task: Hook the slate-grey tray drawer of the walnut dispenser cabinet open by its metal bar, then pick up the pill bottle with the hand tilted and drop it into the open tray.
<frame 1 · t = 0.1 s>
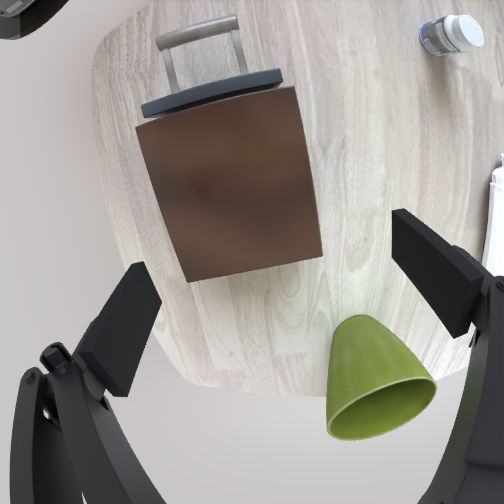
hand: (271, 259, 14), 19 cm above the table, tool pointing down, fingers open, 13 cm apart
drawer: (222, 124, 24), point 5 cm above the table, slide at 0.5 cm
squeeze bottle: (496, 211, 32), on the table
cabinet: (238, 169, 30), on the table
pill bottle: (431, 40, 22), on the table
flower pot: (353, 331, 42), on the table
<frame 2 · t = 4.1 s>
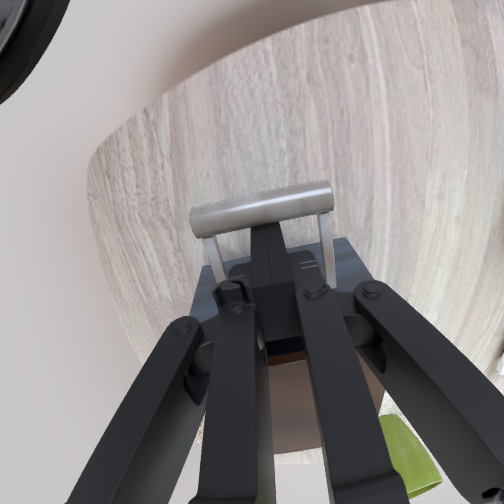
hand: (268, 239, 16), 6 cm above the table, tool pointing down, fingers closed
drawer: (286, 320, 20), point 5 cm above the table, slide at 1.5 cm
cabinet: (291, 335, 27), on the table
flower pot: (377, 424, 38), on the table
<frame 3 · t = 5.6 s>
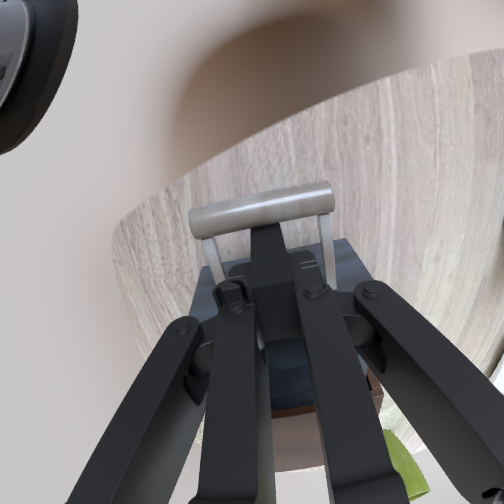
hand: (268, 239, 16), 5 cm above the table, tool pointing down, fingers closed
drawer: (286, 321, 20), point 5 cm above the table, slide at 7.8 cm, touching gripper
cabinet: (297, 373, 30), on the table
flower pot: (372, 438, 41), on the table
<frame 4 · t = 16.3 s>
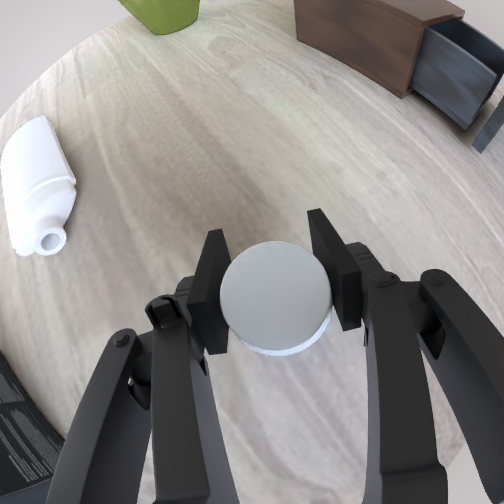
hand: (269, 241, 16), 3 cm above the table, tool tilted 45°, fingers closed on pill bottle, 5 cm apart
drawer: (483, 82, 16), point 5 cm above the table, slide at 8.1 cm
squeeze bottle: (46, 191, 25), on the table
cabinet: (376, 49, 24), on the table
pill bottle: (284, 313, 18), on the table, touching gripper
box: (29, 420, 18), on the table
flower pot: (176, 24, 32), on the table
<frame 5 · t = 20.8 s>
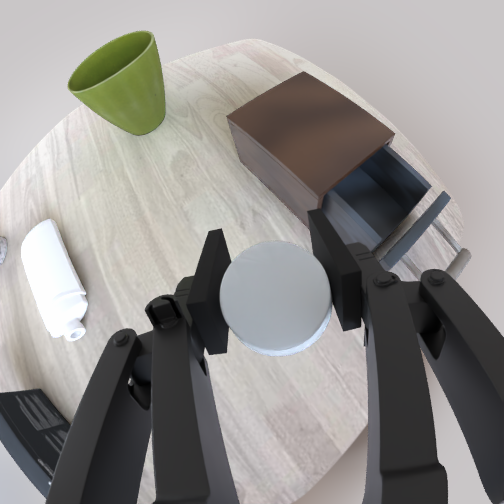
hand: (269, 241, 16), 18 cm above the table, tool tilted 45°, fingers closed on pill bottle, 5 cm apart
drawer: (389, 219, 28), point 5 cm above the table, slide at 8.1 cm
squeeze bottle: (63, 284, 38), on the table
cabinet: (308, 167, 37), on the table
pill bottle: (283, 313, 18), point 14 cm above the table, touching gripper
box: (65, 434, 30), on the table
flower pot: (148, 120, 45), on the table
when the fingers open (12 cm above the table, at t = 25.4 s): pill bottle drops 7 cm, resting on drawer.
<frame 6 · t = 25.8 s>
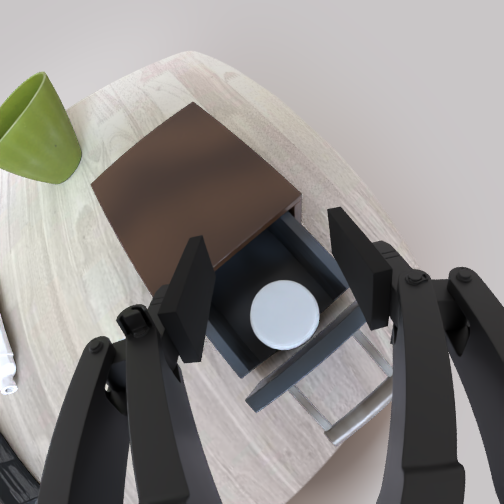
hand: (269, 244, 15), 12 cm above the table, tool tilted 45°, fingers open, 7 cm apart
drawer: (289, 321, 21), point 5 cm above the table, slide at 8.1 cm, touching pill bottle
squeeze bottle: (2, 337, 31), on the table
cabinet: (210, 229, 30), on the table
pill bottle: (286, 320, 24), point 2 cm above the table, touching drawer
box: (19, 467, 24), on the table
flower pot: (67, 165, 38), on the table
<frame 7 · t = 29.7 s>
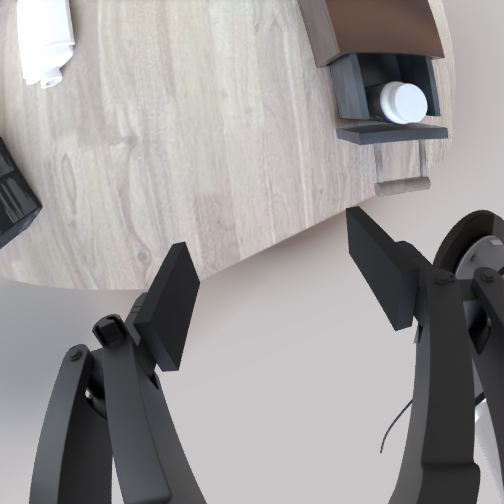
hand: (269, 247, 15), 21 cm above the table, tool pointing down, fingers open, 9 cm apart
drawer: (387, 106, 26), point 5 cm above the table, slide at 8.1 cm, touching pill bottle
squeeze bottle: (53, 32, 23), on the table
cabinet: (349, 16, 24), on the table
pill bottle: (376, 103, 28), point 2 cm above the table, touching drawer
box: (12, 181, 33), on the table
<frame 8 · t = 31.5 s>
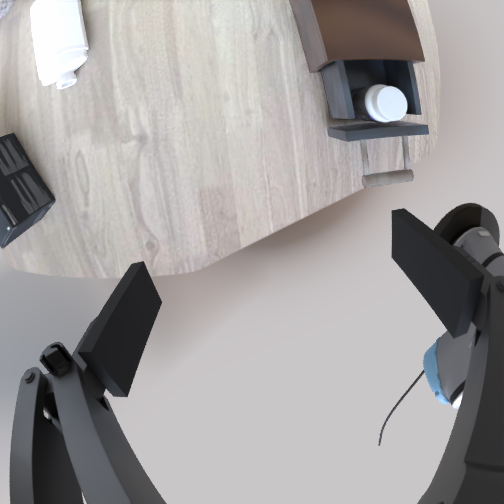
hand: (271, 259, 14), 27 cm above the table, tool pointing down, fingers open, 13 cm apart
drawer: (373, 106, 29), point 5 cm above the table, slide at 8.1 cm, touching pill bottle
squeeze bottle: (66, 36, 26), on the table
mug: (1, 12, 19), on the table
cabinet: (340, 24, 28), on the table
pill bottle: (363, 104, 32), point 2 cm above the table, touching drawer
box: (26, 176, 37), on the table
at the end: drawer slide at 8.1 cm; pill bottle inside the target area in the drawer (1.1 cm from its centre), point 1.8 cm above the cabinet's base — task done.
